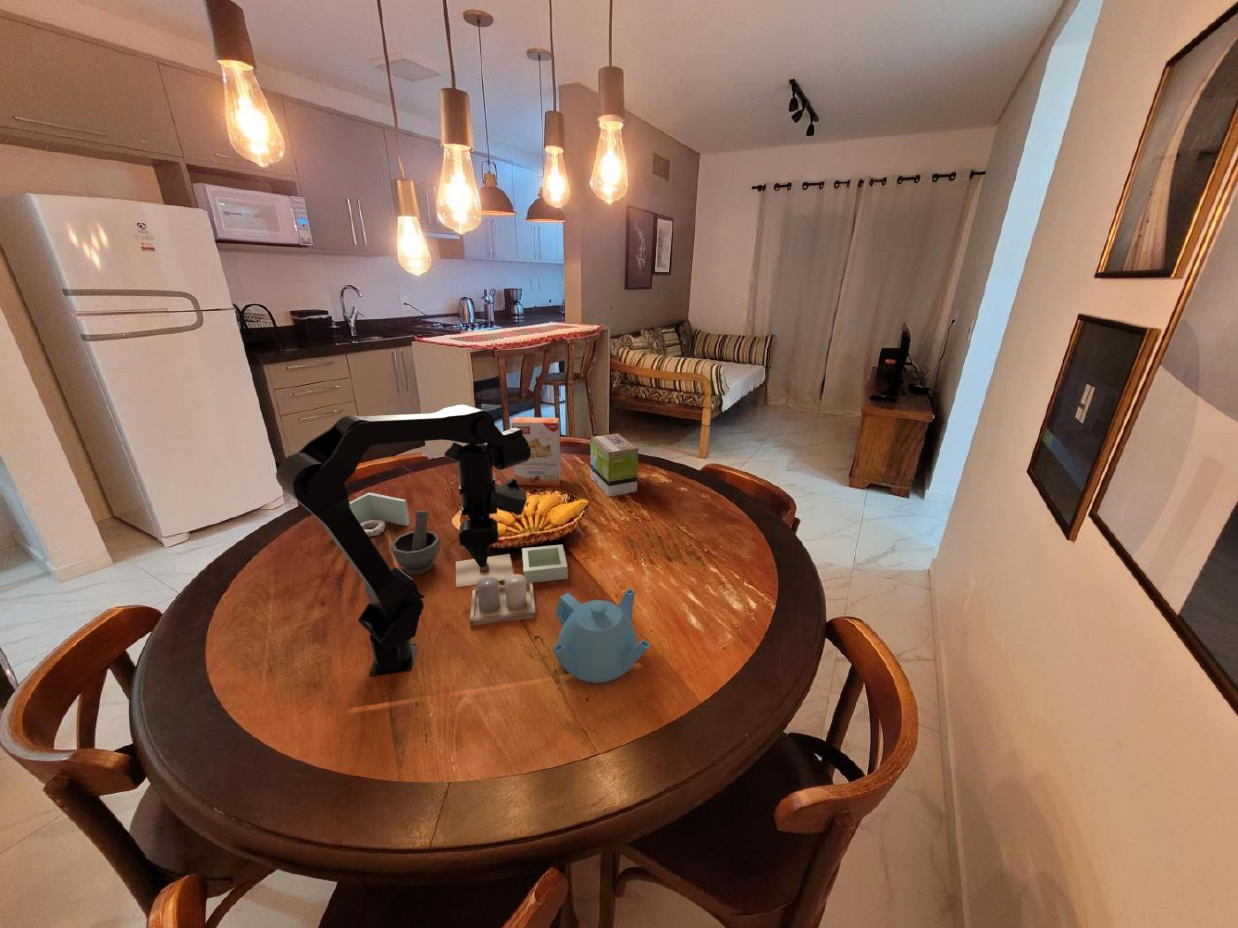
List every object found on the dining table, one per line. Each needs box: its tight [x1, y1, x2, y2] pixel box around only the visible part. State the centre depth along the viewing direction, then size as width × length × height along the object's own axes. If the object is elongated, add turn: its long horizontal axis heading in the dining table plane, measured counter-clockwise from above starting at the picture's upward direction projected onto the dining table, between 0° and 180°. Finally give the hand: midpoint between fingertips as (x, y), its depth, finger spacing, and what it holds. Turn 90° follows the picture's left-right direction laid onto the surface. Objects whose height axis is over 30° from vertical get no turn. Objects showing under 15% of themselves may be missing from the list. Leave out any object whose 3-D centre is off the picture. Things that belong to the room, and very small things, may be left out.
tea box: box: [590, 433, 639, 497], centre depth 148 cm, size 15×10×15 cm, turn 25°
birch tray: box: [469, 582, 537, 627], centre depth 95 cm, size 10×12×2 cm
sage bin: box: [521, 544, 569, 584], centre depth 106 cm, size 9×9×4 cm
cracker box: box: [511, 416, 561, 487], centre depth 148 cm, size 14×6×21 cm, turn 93°
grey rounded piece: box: [476, 577, 500, 613], centre depth 93 cm, size 4×4×6 cm
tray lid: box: [455, 553, 515, 589], centre depth 105 cm, size 10×12×2 cm
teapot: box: [552, 588, 652, 684], centre depth 81 cm, size 15×15×11 cm
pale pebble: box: [504, 573, 527, 610], centre depth 94 cm, size 4×4×6 cm
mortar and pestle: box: [390, 510, 441, 575], centre depth 105 cm, size 11×9×12 cm
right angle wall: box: [350, 492, 411, 538], centre depth 120 cm, size 12×12×8 cm
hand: (483, 553), depth 90 cm, fingers open, 9 cm apart
